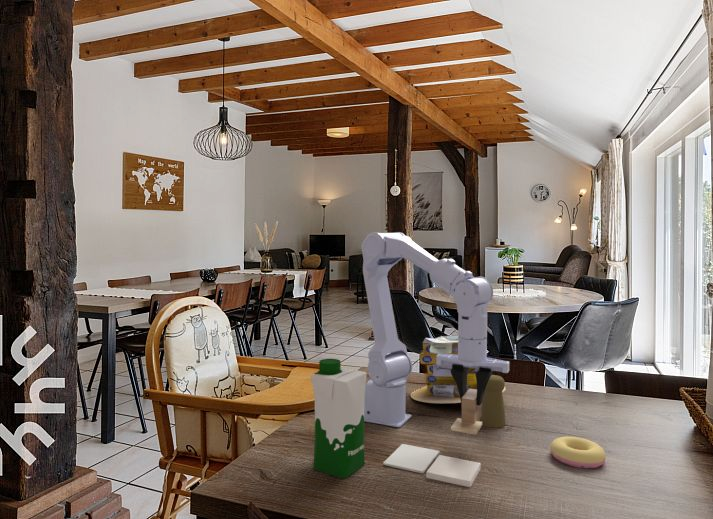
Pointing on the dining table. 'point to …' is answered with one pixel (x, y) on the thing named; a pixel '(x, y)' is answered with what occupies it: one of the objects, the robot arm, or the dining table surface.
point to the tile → (454, 470)
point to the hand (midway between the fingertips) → (471, 402)
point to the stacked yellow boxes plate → (441, 372)
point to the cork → (493, 403)
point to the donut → (578, 452)
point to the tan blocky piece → (469, 414)
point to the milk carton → (338, 418)
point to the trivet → (411, 458)
